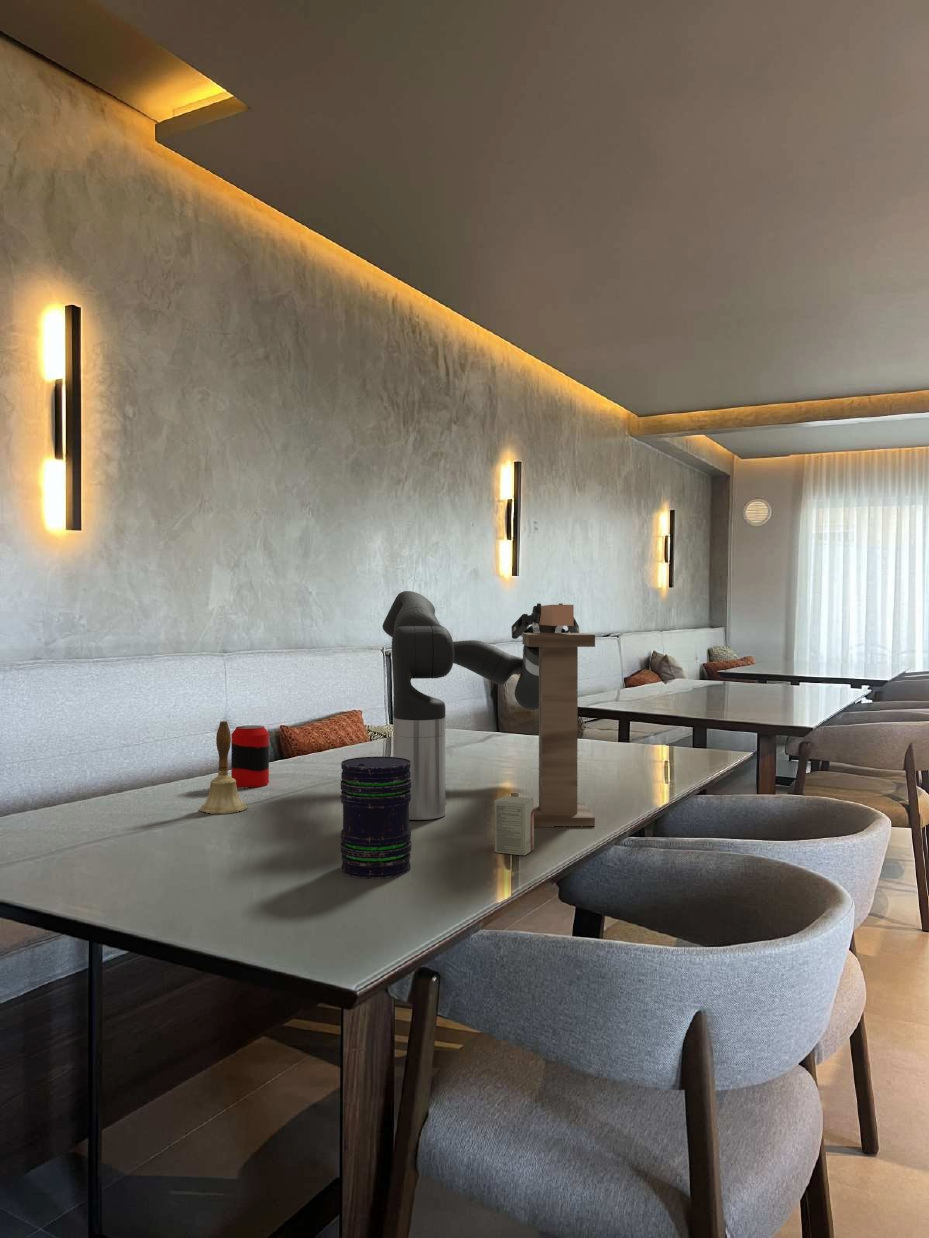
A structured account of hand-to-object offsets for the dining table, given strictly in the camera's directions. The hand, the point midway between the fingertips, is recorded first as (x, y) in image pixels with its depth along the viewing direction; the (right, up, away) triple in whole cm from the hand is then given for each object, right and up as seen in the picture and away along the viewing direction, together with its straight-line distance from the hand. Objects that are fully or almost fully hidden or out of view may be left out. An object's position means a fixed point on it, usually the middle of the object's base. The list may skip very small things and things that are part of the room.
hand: (550, 607), depth 175 cm
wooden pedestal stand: (0, -37, -11) cm, 38 cm away
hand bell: (-60, -37, -5) cm, 70 cm away
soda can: (-60, -37, +19) cm, 73 cm away
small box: (-8, -37, -34) cm, 51 cm away
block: (0, -3, -8) cm, 8 cm away
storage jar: (-28, -37, -44) cm, 64 cm away
